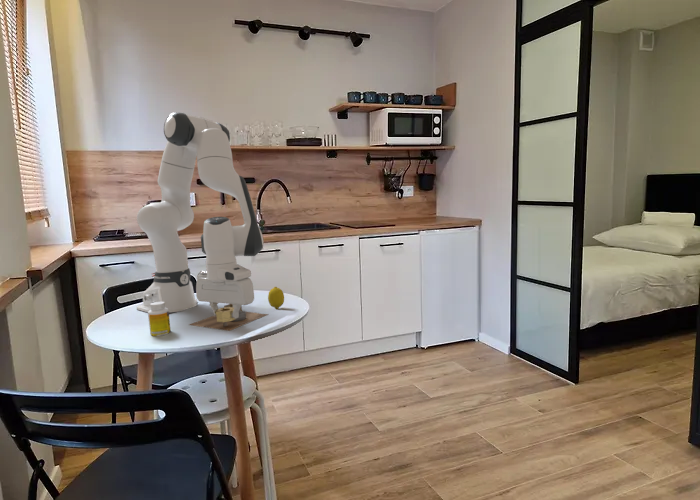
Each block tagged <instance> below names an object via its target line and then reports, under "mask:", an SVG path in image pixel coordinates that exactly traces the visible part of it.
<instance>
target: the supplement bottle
mask: <svg viewBox="0 0 700 500" xmlns="http://www.w3.org/2000/svg"><path fill="white" fill-rule="evenodd" d="M150 308H151V310H149V311H148V312H147V315H148V326H149V327H148V328H149V333H150V336H152V337H160V336H161V337H163V336H165V335H166V336H167V335H169V334H170V333H171V332H172V331H171V322H170V313H169V311H168V309H167V308H165V302H162V301H160V302H154V303H151V304H150Z"/></svg>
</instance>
